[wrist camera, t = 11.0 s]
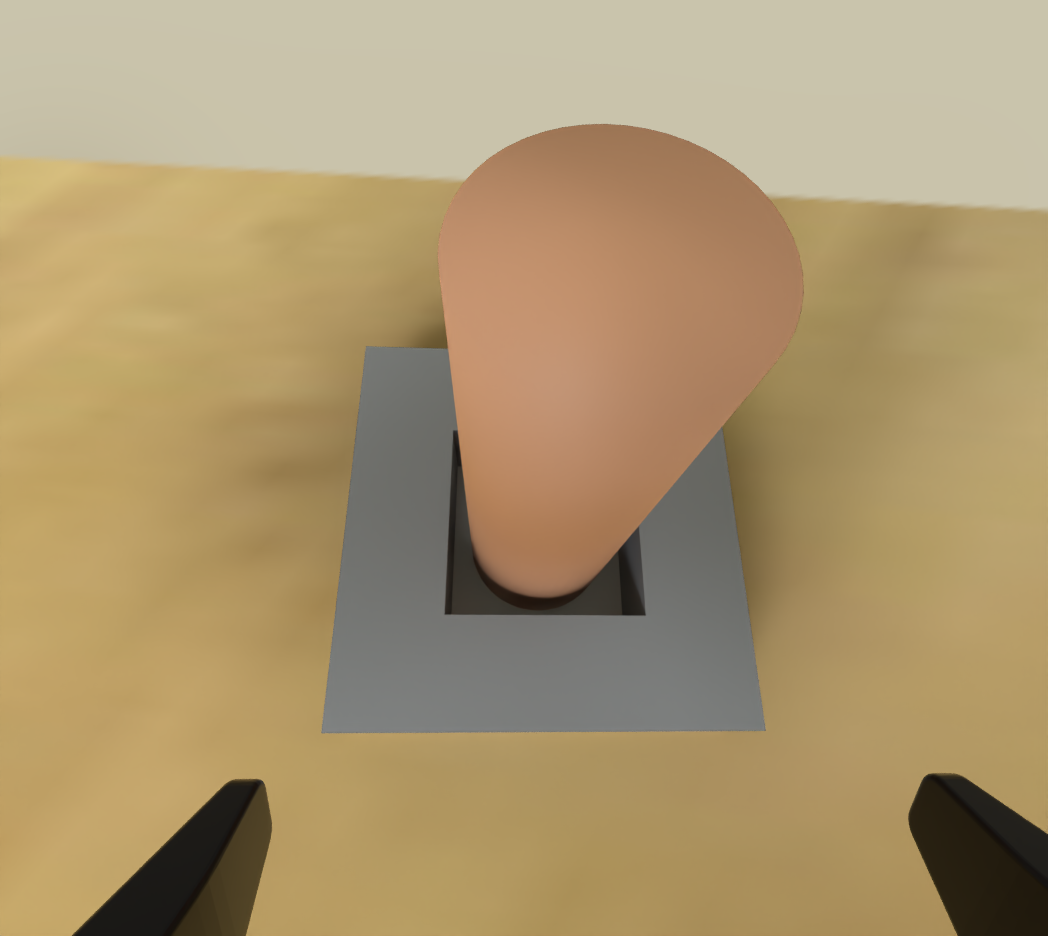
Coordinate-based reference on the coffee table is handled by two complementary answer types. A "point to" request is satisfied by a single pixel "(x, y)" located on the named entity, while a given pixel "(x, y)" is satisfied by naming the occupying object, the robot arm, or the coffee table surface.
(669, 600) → the socket block
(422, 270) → the coffee table surface
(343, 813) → the coffee table surface
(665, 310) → the pin
